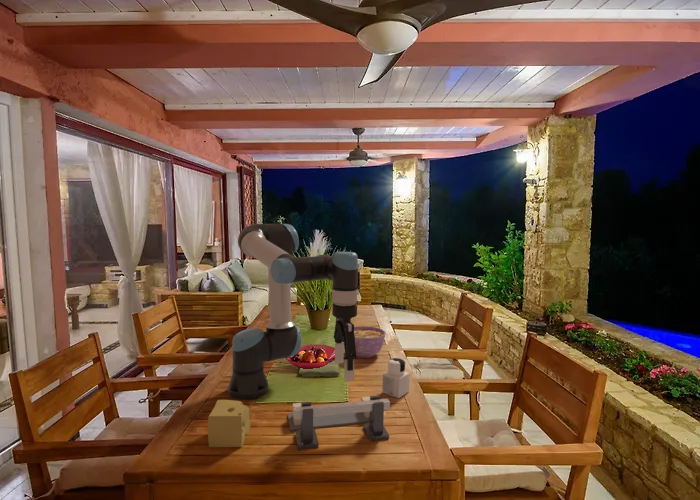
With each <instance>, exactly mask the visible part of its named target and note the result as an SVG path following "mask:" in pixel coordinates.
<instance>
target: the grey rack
mask: <svg viewBox="0 0 700 500" xmlns="http://www.w3.org/2000/svg"><path fill="white" fill-rule="evenodd" d="M377 399H381V398H380V395H371V396H370V400H377ZM300 403H301V407H303V406H312V401H306V402H305V401H303V402H300ZM384 411H385V410H384V402H374V411H370V416H369V422H368V423H363V429H364V432H365V433H366V435H367V437H368V439H369V441H370V442H374V441H381V440H389V439H390V434H389V433H388V431H387V429H386V427H385V426H384V419H385V418H384V413H385V412H384ZM295 439H296V443H297V444H296V445H297V449H298V450H299V451H300V450H307V449H315V448H319V444H320V443H319V439H318V436H317V432H316V428H313V408H310V409H303V418H301V430H295Z"/></svg>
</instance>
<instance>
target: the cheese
mask: <svg viewBox="0 0 700 500" xmlns="http://www.w3.org/2000/svg"><path fill="white" fill-rule="evenodd" d="M249 416H250V408H249V406H247V405H244V403H243V402H242V401H241V400H232V399H217V401H216V403H215V404H214V407H213V408H212V410H211V412H210V413H209V415H208V419H207V441H208V447H209V448H242V447H243V445H244V443H245V440H246V436H247V435H248V433H249V431H250V429H251V420H250V417H249Z"/></svg>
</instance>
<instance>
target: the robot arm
mask: <svg viewBox="0 0 700 500" xmlns="http://www.w3.org/2000/svg"><path fill="white" fill-rule="evenodd" d="M299 239H300V238H299V235H298V231H297V230H296V229H295V227H294V226H293V225H292V224H289V223H281V222H280V223H254V224H250V225H248V226H246V227H244V228H243V229H242V230H241V231H240V233H239V235H238V238H237V246H238V248H239V250H240V251H241V252H242V253H243V254H244V255H246V256H247V257H250V258H255V259H256V260H258V262H260V263H261V264H263V265H264V266H265V267H266V268H267V270H268V271H267V272H268V303H269V321H268V323H266V325H265V331H264V330H263V329H261V328H247V329H244V330H241V331H239V332H237V333H235V335H234V336H233V338H232V346H231V350H232V351H231V352H232V353H231V354H232V373H231V377H230V379H229V382H228V387H227V394H228V396H229V397H230V398H232V399H235V400H239V401H241V400H243V401H246V400H254V399H258V398H260V397H262V396H265V395H266V394H267V393H268V392H269V382H268V379H267V377H266V373H265V368H264V367H265V365H264V364H265V363H266V362H268V363H269V362H272V361H277V360H283V359H288V358H290V357H294V356H296V355H297V354H298V353H299V351H300V349H301V347H302V334H301V330H300V329H299V327H298V326H296V323H295V322H294V321H293V320H292V301H291V299H292V298H291V283H292V284H293V283H301V282H311V281H313V282H314V281H321V280H322V281H324V280H327V281H332V295H331V297H332V298H331V299H332V302H333V303H332V307H331V308H332V309H331V310H332V312H331V313H332V316H333V317H335V325H334V331H333V339H334V343H335V344H334V361H335V364H338V363H339V364H344V368H343V369H344V374H343V375H344V379H343V380H344V381H345V382H347V381H355V360H357V357H358V356H357V355H356V346H355V336H354V327H355V325H354V324H355V323H353V322H352V320H351V319H353V318H355V317H357V315H358V304H357V302H358V295H359V294H360V292H359V291H358V281H359V261H358V260H359V257H358V254H357V253H356V252H353V251H336V252H333V254H332V255H333V256H332V255H331V256H330V255H328V254H318V255H316V256H302V257H299V256H298V257H297V256H294V253H296V252H297V251H298V249H299V246H300V240H299ZM344 354H345V355H344Z"/></svg>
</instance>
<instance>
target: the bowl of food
mask: <svg viewBox="0 0 700 500" xmlns="http://www.w3.org/2000/svg"><path fill="white" fill-rule="evenodd" d="M386 333H387V332H386V331H385V330H384V329H382V328H380V327H375V326H366V325H364V326H363V325H359V326H354V336H355V346H356V356H357V357H359V358H365V359H367V358H372V357H373V356H375V355H377V354H379V353H380V351H381V350H382V349H383V345H384V341H385V338H386Z"/></svg>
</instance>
